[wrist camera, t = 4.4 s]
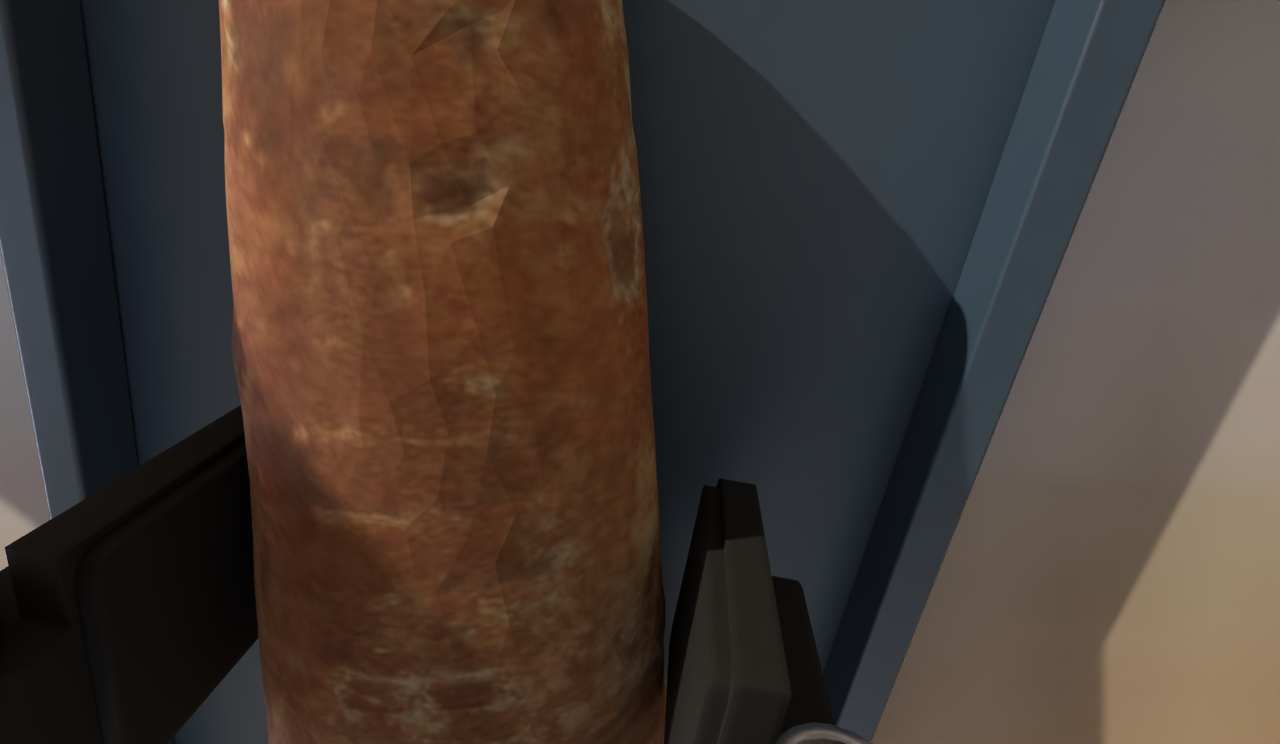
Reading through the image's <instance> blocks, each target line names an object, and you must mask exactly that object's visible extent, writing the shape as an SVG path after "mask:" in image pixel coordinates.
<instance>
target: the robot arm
mask: <svg viewBox="0 0 1280 744" xmlns="http://www.w3.org/2000/svg"><path fill="white" fill-rule="evenodd" d="M5 550H6V555H7V560H8V564H9V566H8V567H6V568H5V569H3V570H2V571H0V744H168V743H169V742H170V741H171V739H172V738H173V737H174V736H175V735H176V734H177V732H178V731H179V730H180V729H181V728H182V727H183V725H184V724H185V723H186V722H187V721H188V720H189V718H190V717H191V716H192V715H193V714H194V713H195V711H196V710H197V709H198V708H199V707H200V706H201V704H202V703H203V702H204V701H205V700H206V699H207V697H208V696H209V695H210V694H211V693H212V692H213V691H214V689H215V688H216V687H217V686H218V685H219V684H220V682H221V681H222V680H223V679H224V678H225V677H226V675H227V674H228V673H229V672H230V671H231V670H232V668H233V667H234V666H235V665H236V664H237V663H238V661H239V660H240V659H241V658H242V657H243V656H244V654H245V653H246V652H247V651H248V650H249V649H250V647H251V646H252V645H253V644H254V643H255V642H256V640H257V639H258V638H259V636H258V624H257V611H256V597H255V582H254V555H253V528H252V513H251V495H250V479H249V470H248V461H247V452H246V443H245V433H244V423H243V414H242V408H241V405H240V406H238V407H237V408H235V409H233V410H232V411H230V412H228V413H227V414H225V415H223V416H222V417H220V418H218V419H217V420H215V421H213V422H212V423H210V424H208V425H207V426H205V427H203V428H202V429H200V430H198V431H197V432H195V433H194V434H192V435H190V436H189V437H187V438H185V439H184V440H182V441H180V442H179V443H177V444H175V445H174V446H172V447H170V448H169V449H167V450H165V451H164V452H162V453H160V454H159V455H157V456H155V457H154V458H152V459H150V460H149V461H147V462H145V463H144V464H142V465H141V466H139V467H137V468H136V469H134V470H132V471H131V472H129V473H127V474H126V475H124V476H122V477H121V478H119V479H117V480H116V481H114V482H112V483H111V484H109V485H107V486H106V487H104V488H102V489H101V490H99V491H97V492H96V493H94V494H93V495H91V496H89V497H88V498H86V499H84V500H83V501H81V502H79V503H78V504H76V505H74V506H73V507H71V508H69V509H68V510H66V511H64V512H63V513H61V514H59V515H58V516H56V517H54V518H53V519H51V520H49V521H48V522H46V523H44V524H43V525H41V526H40V527H38V528H36V529H35V530H33V531H31V532H30V533H28V534H26V535H25V536H23V537H21V538H20V539H18V540H16V541H15V542H13V543H11V544H10V545H8V546H6V547H5ZM664 744H873V743H871V742H869V741H868V740H866V739H864V738H863V737H861V736H859V735H858V734H856V733H854V732H852V731H849V730H847V729H844V728H841V727H838V726H835V724H834V720H833V716H832V712H831V707H830V703H829V699H828V694H827V690H826V686H825V682H824V677H823V673H822V669H821V664H820V660H819V656H818V652H817V647H816V643H815V639H814V634H813V630H812V626H811V622H810V617H809V613H808V609H807V605H806V600H805V596H804V592H803V588H802V586H801V583H800V582H799V581H797V580H793V579H788V578H782V577H777V576H772V575H771V569H770V563H769V558H768V552H767V546H766V540H765V534H764V528H763V522H762V516H761V511H760V505H759V499H758V493H757V488H756V485H754V484H749V483H744V482H738V481H733V480H727V479H722V478H719V480H718V482H717V485H716V487H713V486H707V485H704V487H703V490H702V494H701V498H700V503H699V507H698V512H697V516H696V521H695V525H694V530H693V534H692V539H691V543H690V548H689V552H688V557H687V561H686V566H685V570H684V574H683V579H682V583H681V588H680V592H679V597H678V601H677V606H676V610H675V615H674V619H673V624H672V629H671V635H670V643H669V656H668V675H667V695H666V714H665V733H664Z"/></svg>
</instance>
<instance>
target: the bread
mask: <svg viewBox="0 0 1280 744" xmlns="http://www.w3.org/2000/svg"><path fill="white" fill-rule="evenodd" d="M219 16H220V35H221V60H222V103H223V124H224V130H225V190H226V206H227V221H228V236H229V250H230V264H231V277H232V289H233V301H234V313H233V332H232V356H233V362H234V368H235V373H236V379H237V385H238V391H239V396H240V402H241V408H242V414H243V423H244V433H245V443H246V452H247V461H248V470H249V479H250V495H251V513H252V528H253V555H254V582H255V597H256V611H257V624H258V636H259V647H260V659H261V671H262V682H263V691H264V699H265V706H266V714H267V723H268V742H269V744H664V733H665V714H666V695H667V679H666V675H665V672H664V651H665V648H664V632H665V627H666V603H665V596H664V589H663V582H662V566H661V556H660V532H659V504H658V487H657V470H656V447H655V432H654V421H653V408H652V392H651V376H650V360H649V335H648V313H647V293H646V274H645V256H644V239H643V224H642V209H641V195H640V183H639V172H638V160H637V149H636V142H635V136H634V130H633V124H632V110H631V91H630V72H629V53H628V46H627V38H626V30H625V22H624V14H623V6H622V0H219Z"/></svg>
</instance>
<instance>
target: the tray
mask: <svg viewBox="0 0 1280 744" xmlns="http://www.w3.org/2000/svg"><path fill="white" fill-rule="evenodd" d="M1164 2H1165V0H622V6H623V14H624V22H625V30H626V38H627V46H628V53H629V72H630V91H631V110H632V124H633V130H634V136H635V142H636V149H637V160H638V172H639V183H640V195H641V209H642V224H643V239H644V256H645V274H646V293H647V313H648V335H649V360H650V376H651V392H652V408H653V421H654V432H655V447H656V470H657V487H658V504H659V532H660V556H661V566H662V582H663V589H664V596H665V603H666V627H665V632H664V648H665V651H664V672H665V675H666V679H667V675H668V656H669V643H670V635H671V629H672V624H673V619H674V615H675V610H676V606H677V601H678V597H679V592H680V588H681V583H682V579H683V574H684V570H685V566H686V561H687V557H688V552H689V548H690V543H691V539H692V534H693V530H694V525H695V521H696V516H697V512H698V507H699V503H700V498H701V494H702V490H703V487H704V485H707V486H713V487H716V485H717V482H718V480H719V478H722V479H727V480H733V481H738V482H744V483H749V484H754V485H756V488H757V493H758V499H759V505H760V511H761V516H762V522H763V528H764V534H765V540H766V546H767V552H768V558H769V563H770V569H771V575H772V576H777V577H782V578H788V579H793V580H797V581H799V582H800V583H801V586H802V588H803V592H804V596H805V600H806V605H807V609H808V613H809V617H810V622H811V626H812V630H813V634H814V639H815V643H816V647H817V652H818V656H819V660H820V664H821V669H822V673H823V677H824V682H825V686H826V690H827V694H828V699H829V703H830V707H831V712H832V716H833V720H834V724H835V726H838V727H841V728H844V729H847V730H849V731H852V732H854V733H856V734H858V735H859V736H861V737H863V738H864V739H866V740H868V741H869V742H871V740H872V738H873V735H874V733H875V730H876V728H877V725H878V723H879V720H880V718H881V715H882V713H883V710H884V708H885V705H886V703H887V700H888V698H889V695H890V693H891V690H892V688H893V685H894V682H895V680H896V677H897V675H898V672H899V670H900V667H901V665H902V662H903V660H904V657H905V655H906V652H907V650H908V647H909V645H910V642H911V640H912V637H913V635H914V632H915V630H916V627H917V625H918V622H919V620H920V617H921V614H922V612H923V609H924V607H925V604H926V602H927V599H928V597H929V594H930V592H931V589H932V587H933V584H934V582H935V579H936V577H937V574H938V572H939V569H940V567H941V564H942V562H943V559H944V557H945V554H946V551H947V549H948V546H949V544H950V541H951V539H952V536H953V534H954V531H955V529H956V526H957V524H958V521H959V519H960V516H961V514H962V511H963V509H964V506H965V504H966V501H967V499H968V496H969V494H970V491H971V488H972V486H973V483H974V481H975V478H976V476H977V473H978V471H979V468H980V466H981V463H982V461H983V458H984V456H985V453H986V451H987V448H988V446H989V443H990V441H991V438H992V436H993V433H994V431H995V428H996V425H997V423H998V420H999V418H1000V415H1001V413H1002V410H1003V408H1004V405H1005V403H1006V400H1007V398H1008V395H1009V393H1010V390H1011V388H1012V385H1013V383H1014V380H1015V378H1016V375H1017V373H1018V370H1019V368H1020V365H1021V363H1022V360H1023V357H1024V355H1025V352H1026V350H1027V347H1028V345H1029V342H1030V340H1031V337H1032V335H1033V332H1034V330H1035V327H1036V325H1037V322H1038V320H1039V317H1040V315H1041V312H1042V310H1043V307H1044V305H1045V302H1046V300H1047V297H1048V294H1049V292H1050V289H1051V287H1052V284H1053V282H1054V279H1055V277H1056V274H1057V272H1058V269H1059V267H1060V264H1061V262H1062V259H1063V257H1064V254H1065V252H1066V249H1067V247H1068V244H1069V242H1070V239H1071V237H1072V234H1073V231H1074V229H1075V226H1076V224H1077V221H1078V219H1079V216H1080V214H1081V211H1082V209H1083V206H1084V204H1085V201H1086V199H1087V196H1088V194H1089V191H1090V189H1091V186H1092V184H1093V181H1094V179H1095V176H1096V174H1097V171H1098V168H1099V166H1100V163H1101V161H1102V158H1103V156H1104V153H1105V151H1106V148H1107V146H1108V143H1109V141H1110V138H1111V136H1112V133H1113V131H1114V128H1115V126H1116V123H1117V121H1118V118H1119V116H1120V113H1121V111H1122V108H1123V106H1124V103H1125V100H1126V98H1127V95H1128V93H1129V90H1130V88H1131V85H1132V83H1133V80H1134V78H1135V75H1136V73H1137V70H1138V68H1139V65H1140V63H1141V60H1142V58H1143V55H1144V53H1145V50H1146V48H1147V45H1148V43H1149V40H1150V37H1151V35H1152V32H1153V30H1154V27H1155V25H1156V22H1157V20H1158V17H1159V15H1160V12H1161V10H1162V7H1163V5H1164ZM0 249H1V255H2V260H3V266H4V271H5V276H6V282H7V287H8V293H9V298H10V303H11V309H12V314H13V319H14V325H15V330H16V336H17V341H18V346H19V352H20V357H21V363H22V368H23V373H24V379H25V384H26V390H27V395H28V400H29V406H30V411H31V417H32V422H33V427H34V433H35V438H36V444H37V449H38V454H39V460H40V465H41V471H42V476H43V481H44V487H45V492H46V497H47V503H48V508H49V514H50V519H53V518H54V517H56V516H58V515H59V514H61V513H63V512H64V511H66V510H68V509H69V508H71V507H73V506H74V505H76V504H78V503H79V502H81V501H83V500H84V499H86V498H88V497H89V496H91V495H93V494H94V493H96V492H97V491H99V490H101V489H102V488H104V487H106V486H107V485H109V484H111V483H112V482H114V481H116V480H117V479H119V478H121V477H122V476H124V475H126V474H127V473H129V472H131V471H132V470H134V469H136V468H137V467H139V466H141V465H142V464H144V463H145V462H147V461H149V460H150V459H152V458H154V457H155V456H157V455H159V454H160V453H162V452H164V451H165V450H167V449H169V448H170V447H172V446H174V445H175V444H177V443H179V442H180V441H182V440H184V439H185V438H187V437H189V436H190V435H192V434H194V433H195V432H197V431H198V430H200V429H202V428H203V427H205V426H207V425H208V424H210V423H212V422H213V421H215V420H217V419H218V418H220V417H222V416H223V415H225V414H227V413H228V412H230V411H232V410H233V409H235V408H237V407H238V406H240V405H241V402H240V396H239V391H238V385H237V379H236V373H235V368H234V362H233V356H232V332H233V313H234V301H233V289H232V277H231V264H230V250H229V236H228V221H227V206H226V190H225V130H224V124H223V103H222V60H221V35H220V16H219V0H0ZM168 744H269V742H268V723H267V714H266V706H265V699H264V691H263V682H262V671H261V659H260V647H259V638H258V639H257V640H256V642H255V643H254V644H253V645H252V646H251V647H250V649H249V650H248V651H247V652H246V653H245V654H244V656H243V657H242V658H241V659H240V660H239V661H238V663H237V664H236V665H235V666H234V667H233V668H232V670H231V671H230V672H229V673H228V674H227V675H226V677H225V678H224V679H223V680H222V681H221V682H220V684H219V685H218V686H217V687H216V688H215V689H214V691H213V692H212V693H211V694H210V695H209V696H208V697H207V699H206V700H205V701H204V702H203V703H202V704H201V706H200V707H199V708H198V709H197V710H196V711H195V713H194V714H193V715H192V716H191V717H190V718H189V720H188V721H187V722H186V723H185V724H184V725H183V727H182V728H181V729H180V730H179V731H178V732H177V734H176V735H175V736H174V737H173V738H172V739H171V741H170V742H169V743H168Z"/></svg>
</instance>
